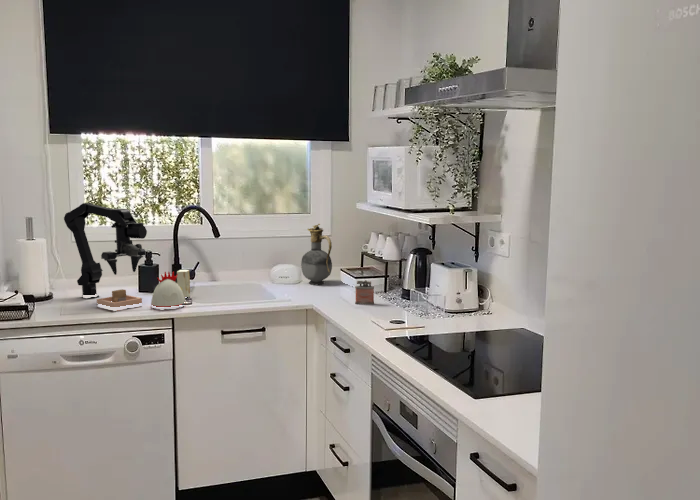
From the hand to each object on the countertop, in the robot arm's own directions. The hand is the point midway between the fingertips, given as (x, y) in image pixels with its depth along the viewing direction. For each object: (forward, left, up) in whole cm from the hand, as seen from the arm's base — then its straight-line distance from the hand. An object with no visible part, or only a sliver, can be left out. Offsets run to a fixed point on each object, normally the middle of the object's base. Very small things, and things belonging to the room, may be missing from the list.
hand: (124, 273), depth 293 cm
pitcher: (+43, +80, -12) cm, 92 cm away
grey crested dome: (+26, +3, -12) cm, 29 cm away
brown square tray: (+10, -10, -12) cm, 19 cm away
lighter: (+89, +57, -12) cm, 106 cm away
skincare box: (+16, +19, -12) cm, 28 cm away
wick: (+10, -10, -11) cm, 18 cm away
